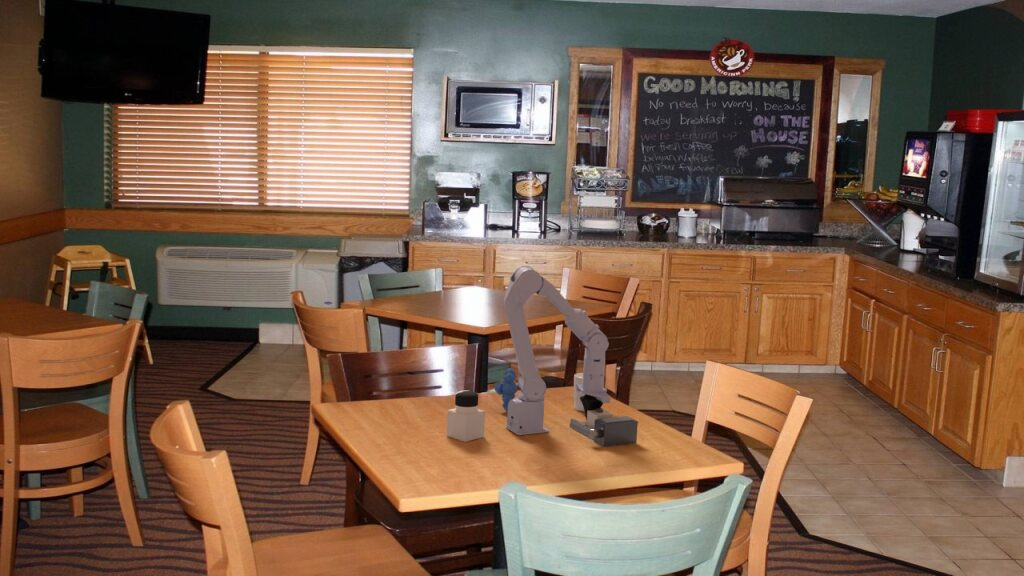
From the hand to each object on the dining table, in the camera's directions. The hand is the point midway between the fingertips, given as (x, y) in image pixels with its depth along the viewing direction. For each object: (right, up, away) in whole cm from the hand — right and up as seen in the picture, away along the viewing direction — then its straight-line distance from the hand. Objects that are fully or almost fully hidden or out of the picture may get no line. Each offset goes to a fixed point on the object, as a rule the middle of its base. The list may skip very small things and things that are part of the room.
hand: (591, 422), depth 263 cm
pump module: (+2, -2, -4) cm, 4 cm away
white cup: (0, +1, +22) cm, 22 cm away
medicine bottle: (-34, -2, -11) cm, 35 cm away
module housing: (+1, -3, -5) cm, 6 cm away
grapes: (-23, +1, +18) cm, 29 cm away
